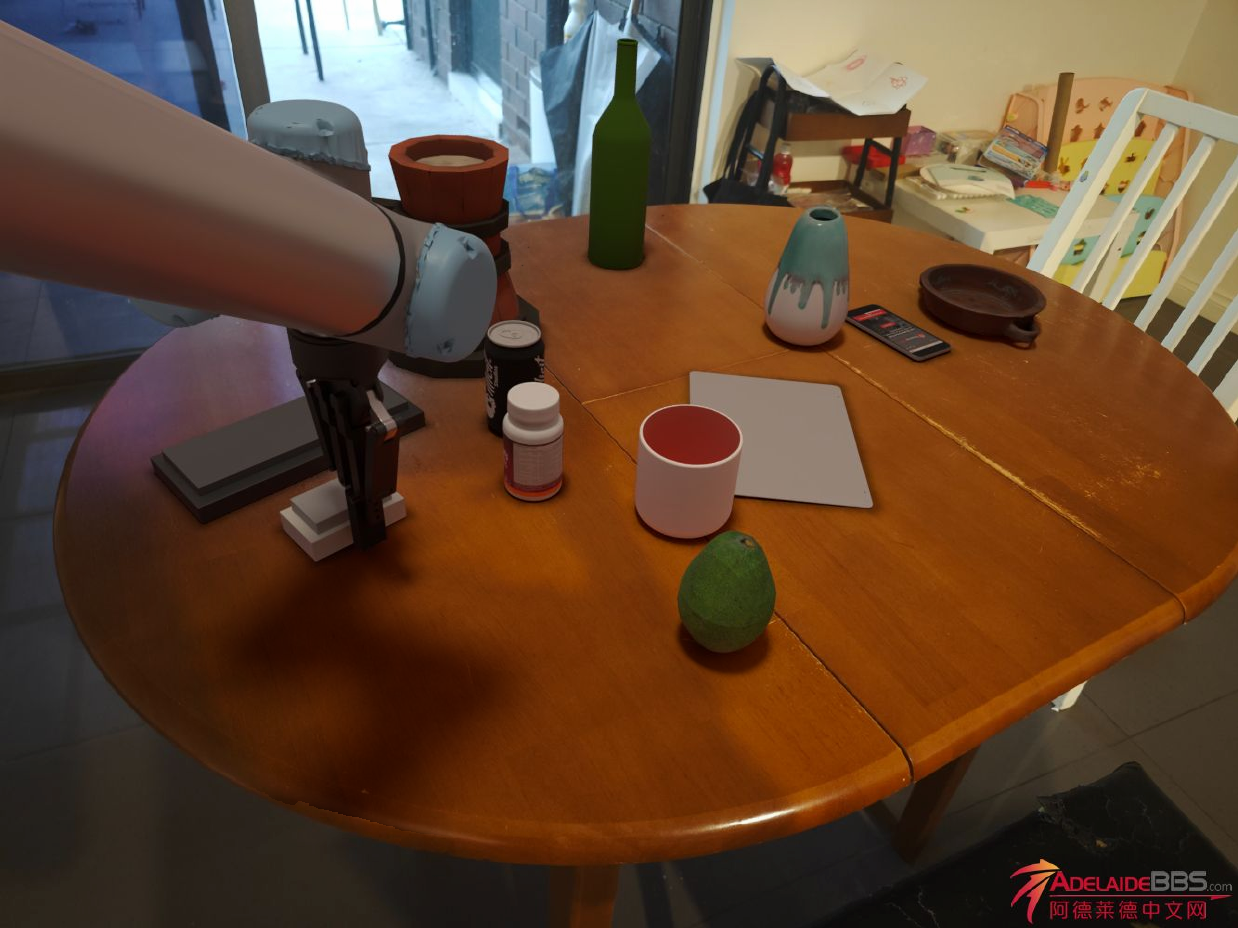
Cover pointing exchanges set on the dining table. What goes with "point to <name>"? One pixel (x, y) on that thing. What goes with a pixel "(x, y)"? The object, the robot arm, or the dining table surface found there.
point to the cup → (687, 470)
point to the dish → (983, 300)
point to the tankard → (459, 221)
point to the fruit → (727, 593)
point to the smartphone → (897, 332)
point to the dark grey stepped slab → (255, 456)
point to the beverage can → (510, 364)
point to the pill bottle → (533, 442)
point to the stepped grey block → (328, 519)
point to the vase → (811, 280)
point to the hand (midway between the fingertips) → (370, 541)
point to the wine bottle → (620, 171)
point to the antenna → (788, 438)
